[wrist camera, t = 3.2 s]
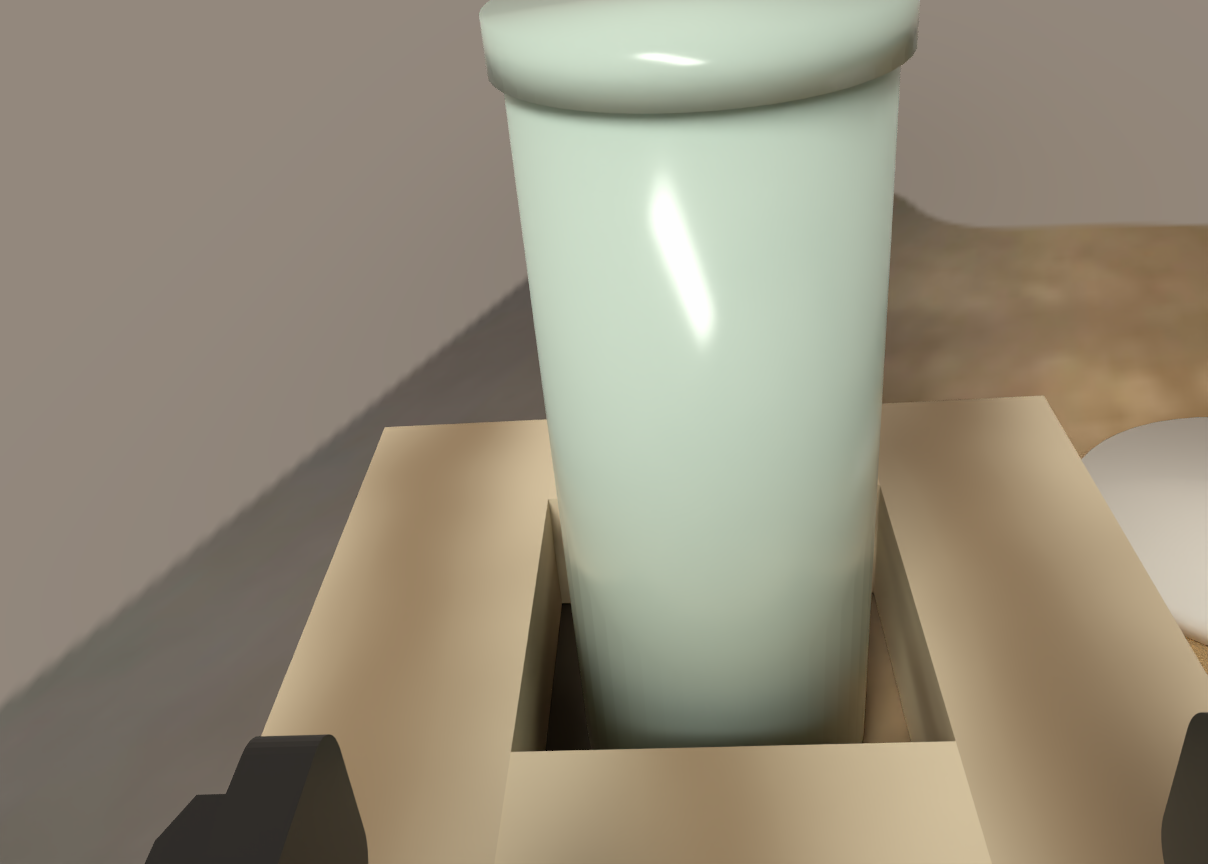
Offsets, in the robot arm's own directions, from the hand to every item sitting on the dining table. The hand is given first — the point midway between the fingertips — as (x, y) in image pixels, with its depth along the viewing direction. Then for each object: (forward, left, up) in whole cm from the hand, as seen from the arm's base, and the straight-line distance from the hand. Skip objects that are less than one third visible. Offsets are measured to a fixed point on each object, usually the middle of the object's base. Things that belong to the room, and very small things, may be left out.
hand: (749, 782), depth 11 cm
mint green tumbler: (0, -9, -8) cm, 12 cm away
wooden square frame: (0, -9, -8) cm, 12 cm away
